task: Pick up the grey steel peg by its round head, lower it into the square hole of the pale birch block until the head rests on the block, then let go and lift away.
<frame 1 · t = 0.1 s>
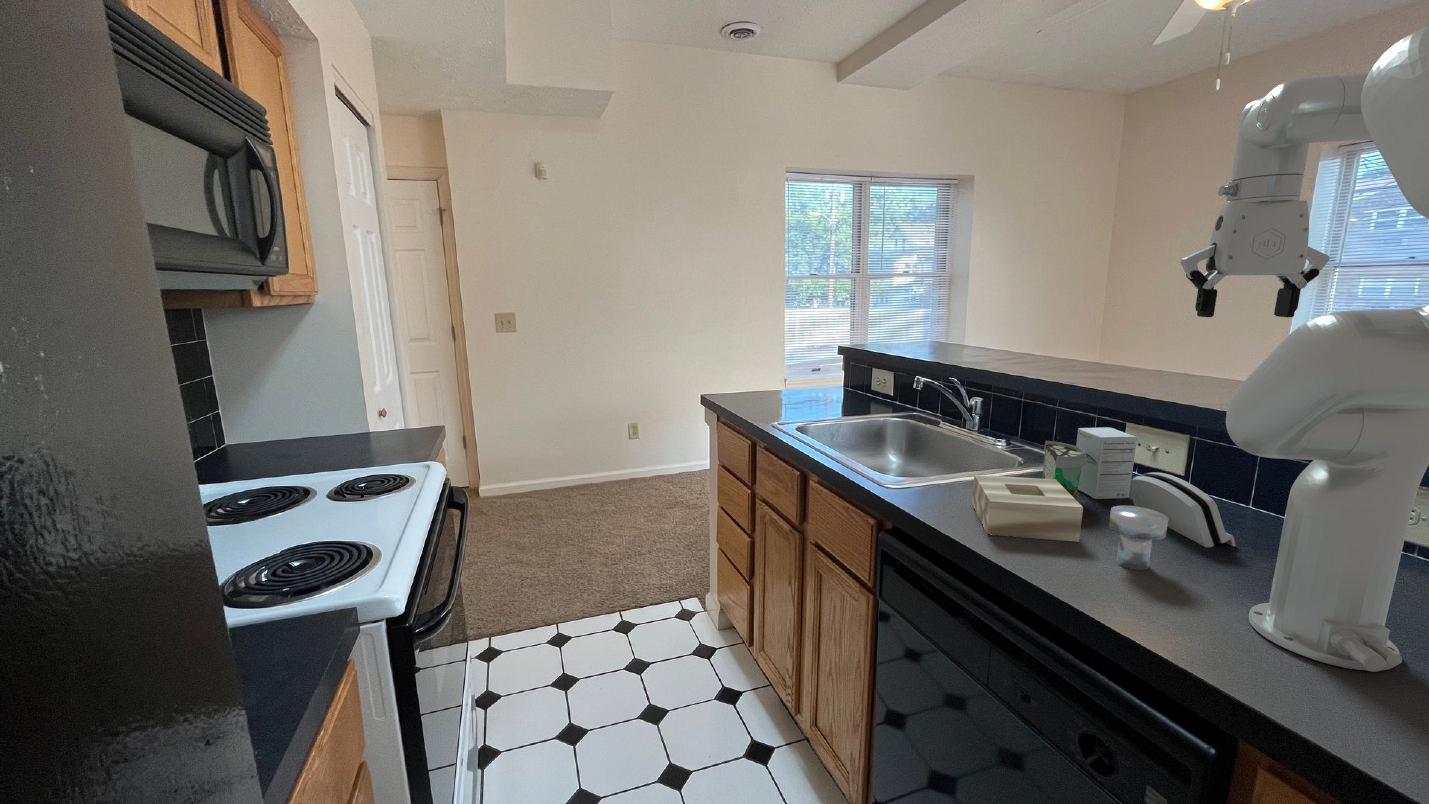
hand: (1243, 316, 87), 37 cm above the counter, tool pointing down, fingers open, 9 cm apart
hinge: (1173, 528, 104), on the counter
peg: (1132, 564, 90), on the counter
block: (1021, 521, 107), on the counter
food container: (1063, 499, 117), on the counter
supplement box: (1099, 493, 120), on the counter
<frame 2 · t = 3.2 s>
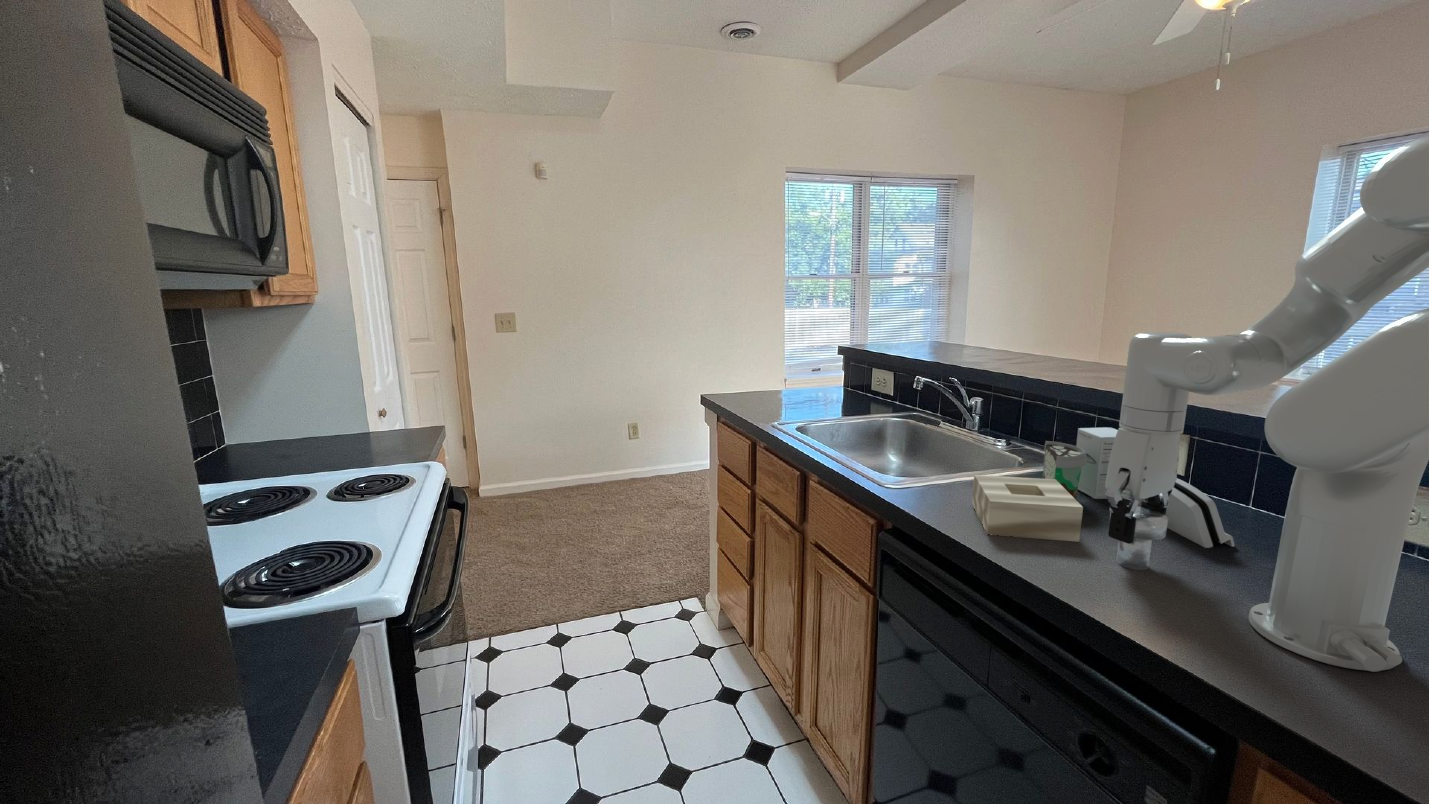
hand: (1135, 533, 90), 5 cm above the counter, tool pointing down, fingers closed on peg, 7 cm apart
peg: (1132, 563, 91), on the counter, touching gripper
everything else where it was.
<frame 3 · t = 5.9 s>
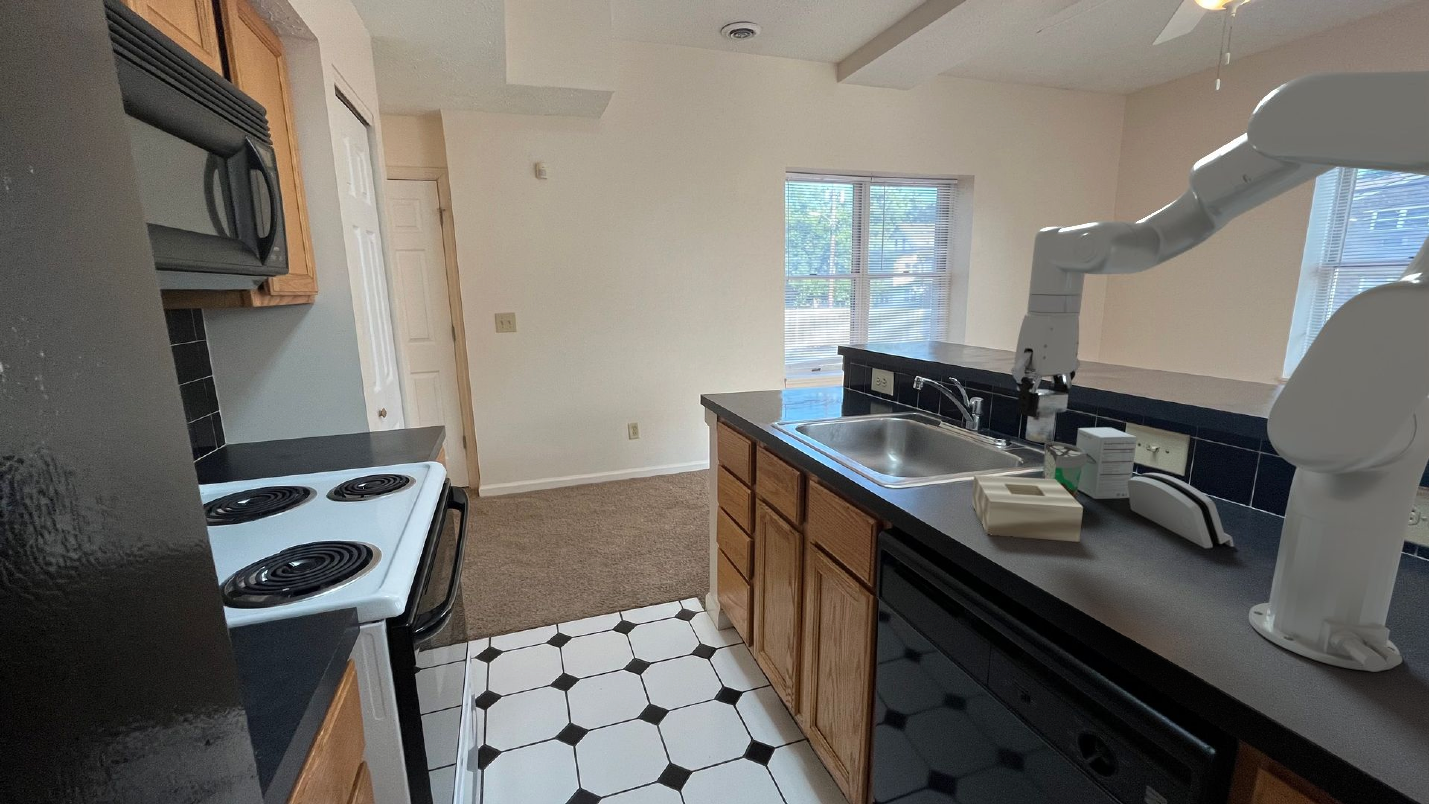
hand: (1041, 411, 101), 20 cm above the counter, tool pointing down, fingers closed on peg, 7 cm apart
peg: (1038, 439, 102), point 16 cm above the counter, touching gripper
everything else where it was.
when the fingers open (7 cm above the counter, at t = 8.6 s): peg drops 1 cm, resting on block.
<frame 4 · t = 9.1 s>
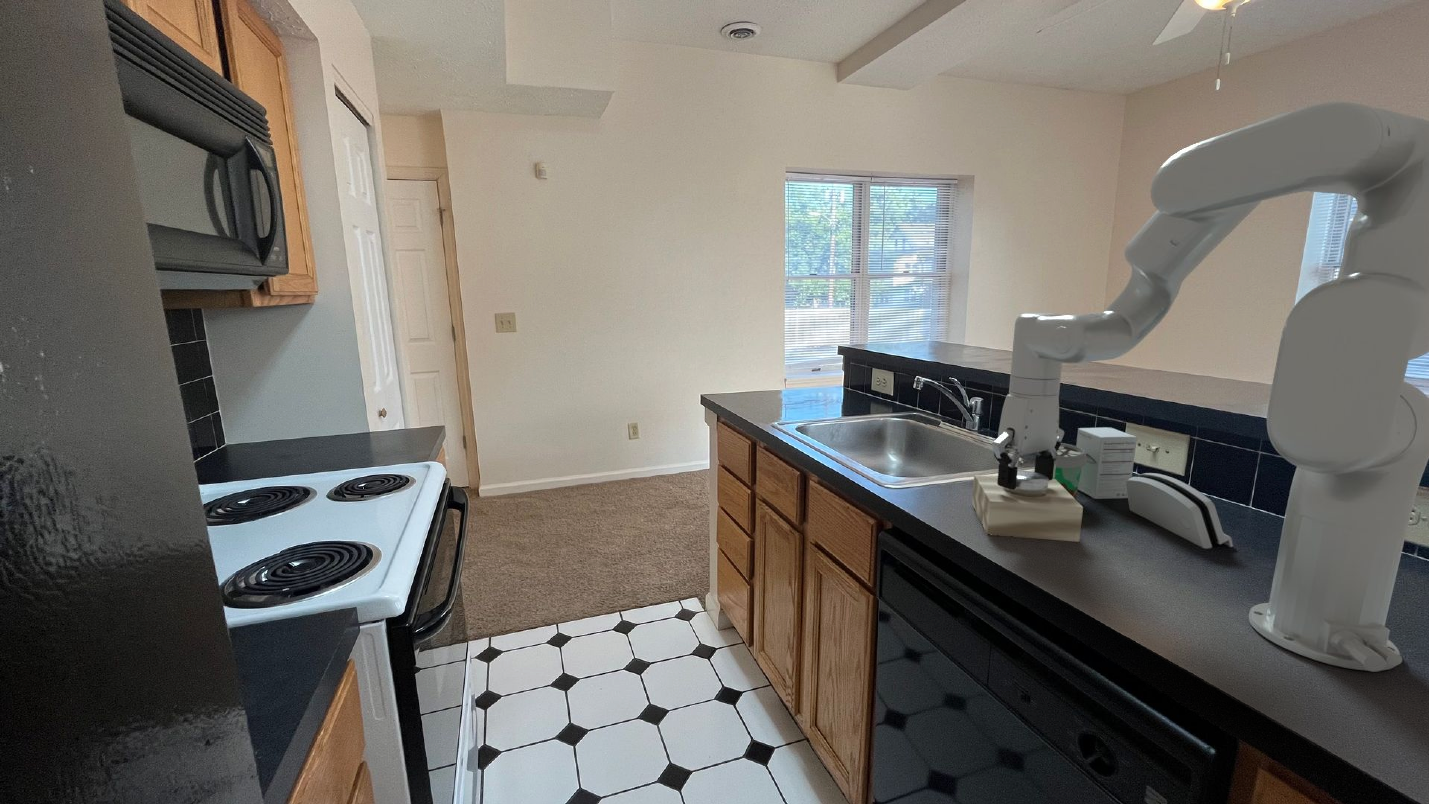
hand: (1025, 482, 105), 7 cm above the counter, tool pointing down, fingers open, 9 cm apart
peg: (1021, 519, 106), resting on block
everything else where it was.
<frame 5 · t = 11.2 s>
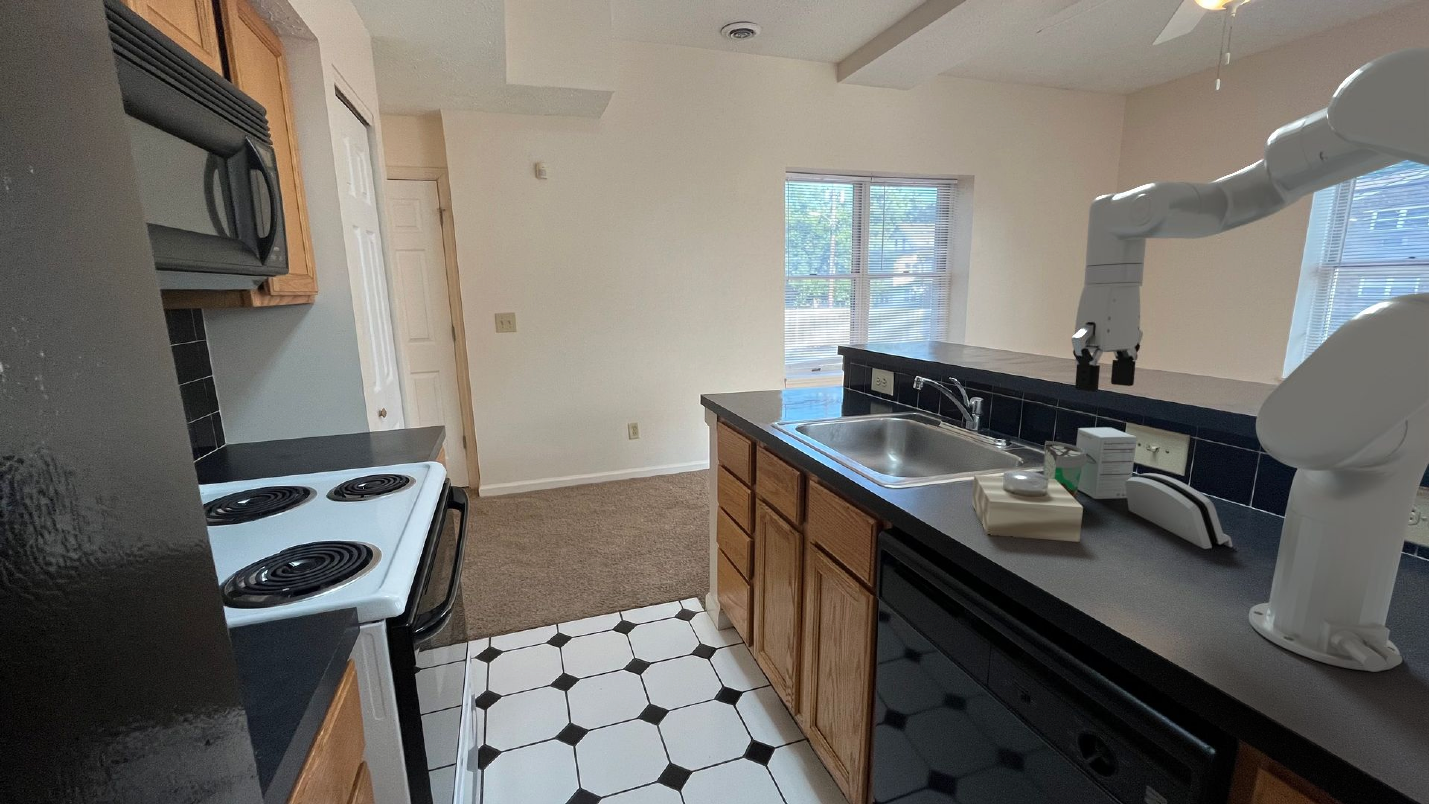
hand: (1104, 387, 95), 25 cm above the counter, tool pointing down, fingers open, 9 cm apart
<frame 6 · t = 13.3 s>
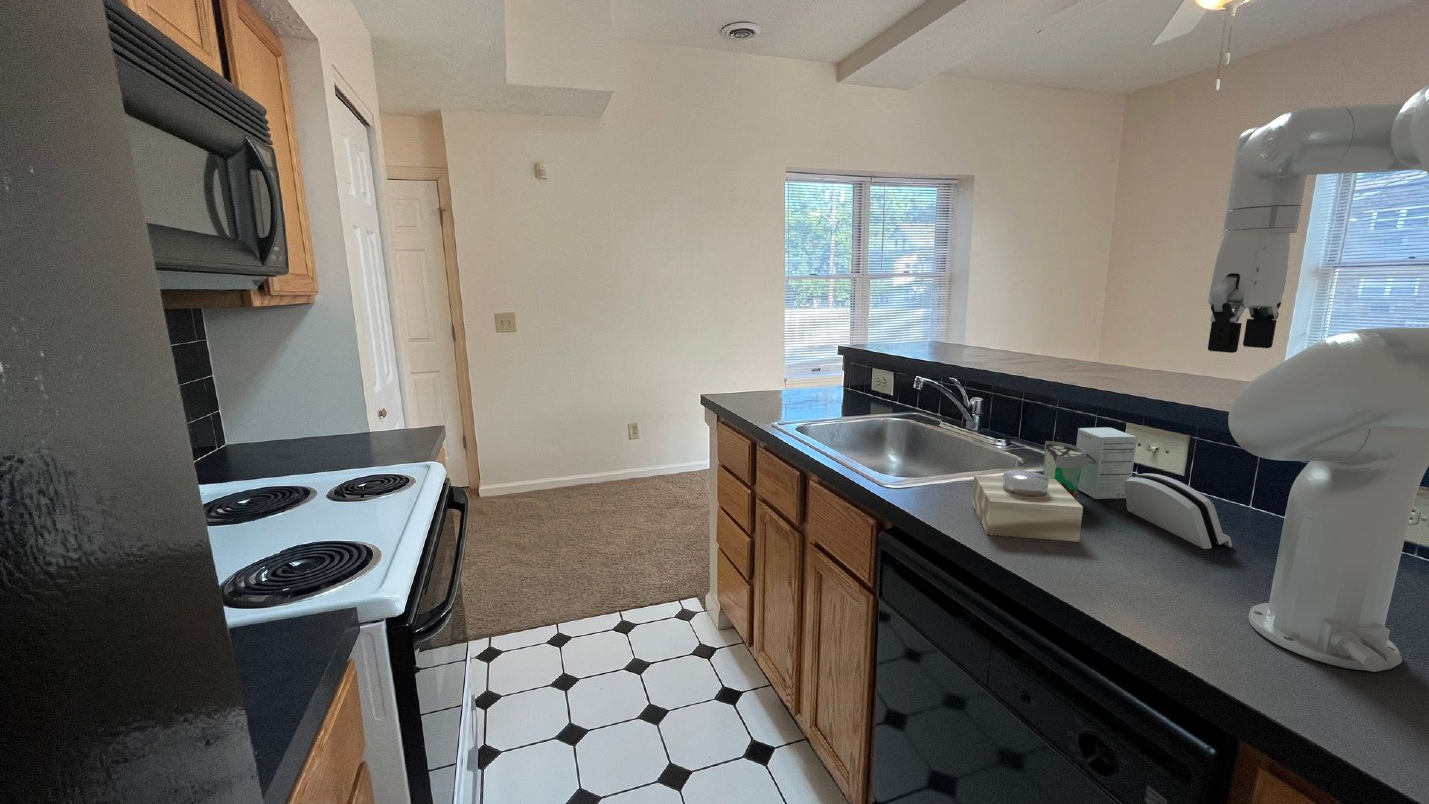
hand: (1239, 349, 84), 32 cm above the counter, tool pointing down, fingers open, 9 cm apart
at the end: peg 0.1 cm off-centre on the block, point 0.5 cm above the block's base; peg tilted 0°; the gripper is holding nothing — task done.
